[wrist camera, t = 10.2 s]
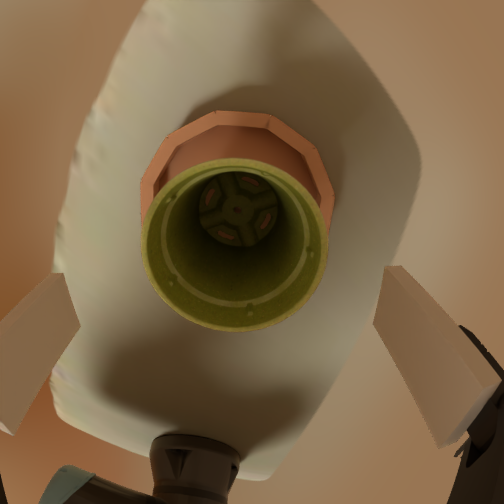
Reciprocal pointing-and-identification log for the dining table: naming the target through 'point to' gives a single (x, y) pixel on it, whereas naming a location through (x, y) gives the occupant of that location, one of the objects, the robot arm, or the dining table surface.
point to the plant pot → (234, 245)
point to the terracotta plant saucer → (239, 155)
